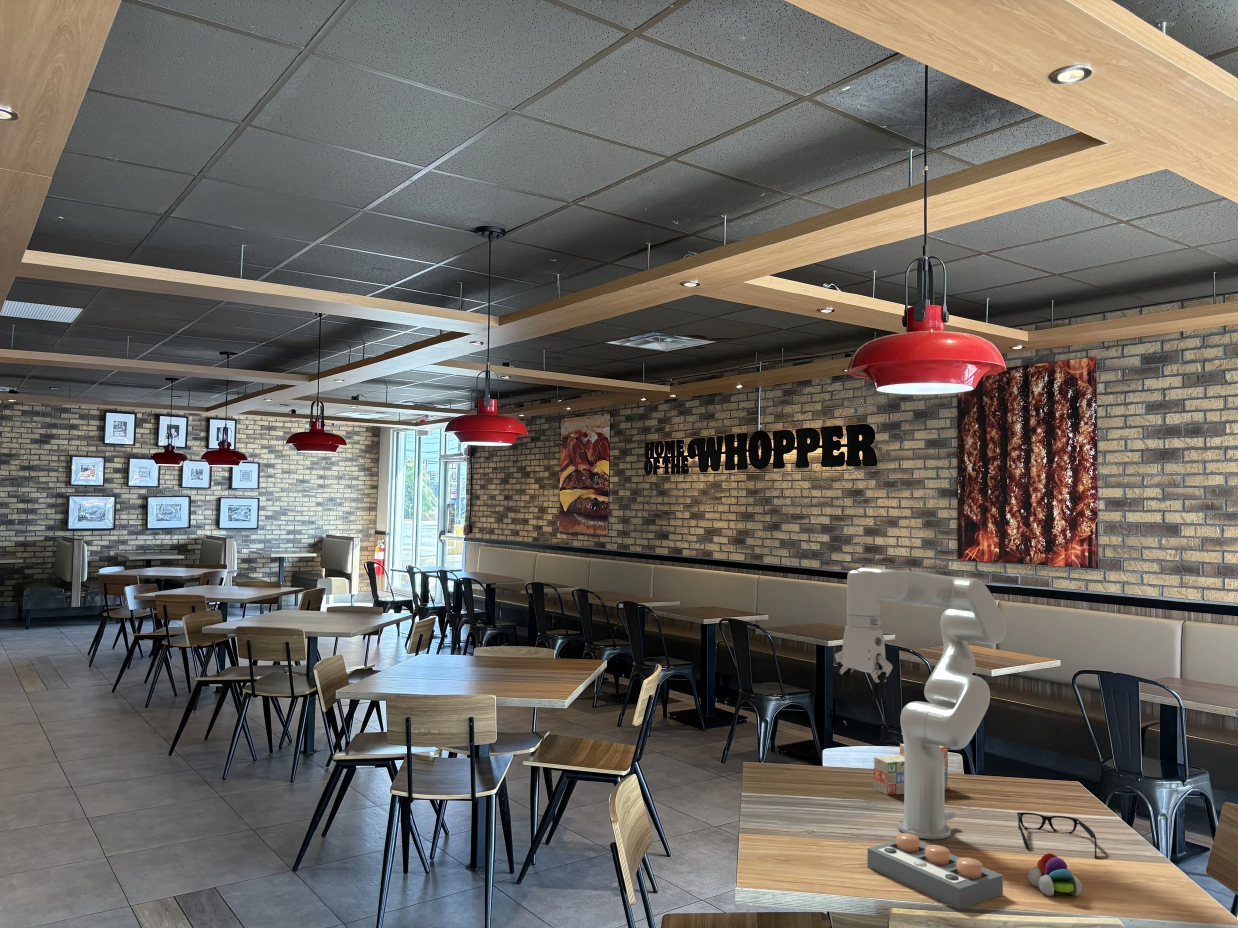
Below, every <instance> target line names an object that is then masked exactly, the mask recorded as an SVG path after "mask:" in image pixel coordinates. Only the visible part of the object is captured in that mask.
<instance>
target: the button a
mask: <svg viewBox="0 0 1238 928" xmlns="http://www.w3.org/2000/svg"><path fill="white" fill-rule="evenodd" d="M896 841H897V849H899V850H901V851H903V852H906V853H908V854H911V853H915V852H919V841H920V838H919V837H917V836H916V835H913V834H908V833H903V832H901V833H898V834H896Z"/></svg>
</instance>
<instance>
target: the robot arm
mask: <svg viewBox="0 0 1238 928" xmlns="http://www.w3.org/2000/svg"><path fill="white" fill-rule="evenodd" d="M846 578H847V579H846V583H847V584H846V586H847V587H846V626H845V629H844V633H843V639H842V650H841V651H839V652H836V653H835V654H834V658H835V661H836V667H837V668H838V670H839V674H840V675H841V692H842V693H843V692H844V693H846V692H847V693H849V692H853V691H854V674H853V673H852V672H853V671H854V670H855V671H859V672H864V673H869V674H870V675H871V677H872V679H873V681H872V683H871V699H872V700H874V701H875V700H884V697H885V695H884V693H885V691H884V690H885V683H886V682H887V680H888V678H889V677H890V675H891V674H890V673H891V672H892V670H893V664H892V663H890V662H889V661H888V660H887V659H886V645H885V638H884V633H883V630H882V629H880V626H881V625H882V620H881V619H880V614H881V613H880V608H881V604H880V602H881V601H882V600H883V601H889V602H895V603H900V604H902V605H903V604H905V605H908V606H917V607H927V608H936V609H937V608H938V609H945V610H944V612H943V613H942V614H941V617H940V621H939V622H940V623H939V624H940V632H941V636H942V645H943V650H942V651H943V652H942V654H941V657H940V659H938V662H937V663H936V665H935V667H934V669H933V671H932V672H931V674H930V676H929V677H928V679H927V681H926V683H925V685H924V688H923V689H924V691H923V694H924V697H925V699H926V701H927V702H926V701H921V700H920V701H919V700H918V701H911V702H908V703H907V704H906V705H904V706H903V708H902V709H901V713H900V719H899V721H900V727H901V729H900V730H901V734H902V738H903V739H902V740H903V744H904V755H905V765H904V794H903V800H904V801H903V803H904V805H903V810H904V812H903V818H902V819H900V820H898V821H897V828H898V830H900V831H901V833H908V834H913V835H916V836H917V837H919V839H925V840H944V839H947V838H949V837H950V836H951V835H952V829H951V827H950V826H949V825H947V822H948V821H949V820H953V819H954V820H955V818H956V813H955V812H954V811H953V810H948V811H945V789H944V770H945V764H944V757H943V754H942V751H941V749H940V747H939V746H942V747H946V748H948V749H951V750H961V749H964V748H965V747H967V745H968V744H969V743H970V741H972V739H973V738H974V735H975V733H976V732H977V729H978V728H979V726H980V724H981V722H982V720H983V718H984V716H985V715H986V712H987V710H988V708H989V706H990V701H991V690H990V687H989V685H988V683H987V681H986V680H985V679H983V678H982V677H980V676H977V675H973V674H974V671H975V669H976V660H975V659H976V658H975V655H974V654H973V652H972V650H971V647H970V645H969V642H970V643H977V644H985V645H998V644H1000V643H1001V642H1002V641H1004V639H1005V636H1006V633H1007V623H1006V619H1005V617H1004V615H1003V613H1002V611H1001V609H1000V607H999V605H998V603H997V602H996V599H994V596H993V594H992V593H991V591H990V590H989V588H988V587H987V586H986V584H984V583H983V581H981V580H980V579H978V578H970V577H961V576H959V577H958V576H950V575H941V574H936V573H930V572H929V573H928V572H921V571H907V570H906V571H901V570H897V569H890V568H889V569H887V568H876V567H860V568H858V569H853V570H850V571H848V573H847V577H846Z"/></svg>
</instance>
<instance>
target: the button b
mask: <svg viewBox="0 0 1238 928" xmlns="http://www.w3.org/2000/svg"><path fill="white" fill-rule="evenodd" d="M927 845H928V846H926V861H927V862H929V863H932V864H934V865H936V866H939V867H941V866H945V865H948V864H949V853H950V849H948V847H946V846H944V845H942V846H941V845H938V844H927Z"/></svg>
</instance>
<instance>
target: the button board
mask: <svg viewBox="0 0 1238 928" xmlns="http://www.w3.org/2000/svg"><path fill="white" fill-rule="evenodd" d="M928 845H929V844H928V843H925V842H922V841H920V840H919V852H915V853H911V854H908V853H906V852H903V851H901V850H899V849H897V840H895V841H890V842H887V843H883V844H880V845H879V844H878V845H873V846H870V847H868V848H867V855H866V856H867V862H866V863H867V864H866V866H867V868H870V869H872V870H874V871H876V872H877V873H878V872H879V873H880V874H883V875H885V876H887V877H889V878H891V879H893V880H895V881H898V882H900V883H902V884H904V885H905V886H909V887H910V888H912V889H914V890H917V891H919V892H922V893H924V894H926V895H927V896H930V897H932V898H934V899H936V900H939V901H941V902H943V903H945V904H947V905H949V906H951V907H953V908H956V909H958V910H961V909H965V908H967V907H970V906H973V905H976V904H980V903H984V902H985V901H988V900H989V901H990V900H991V899H996V898H997V897H1000V896H1003V895H1004V881H1003V880H1004V878H1003V877H1004V876H1003V874H1001V873H998V872H996V871H993V870H991V869H988V868H986V867H985V866H984V867H983V866H982V878H980V879H977V880H974V881H971V880H969V879H967V878H964V877H962V876H960V875H957V859H958V858H960V857H959V856H957V855H954V854H952V853H950V852H949V864H948V865H945V866H941V867H939V866H936V865H934V864H932V863H929V862H927V861H926V846H928Z"/></svg>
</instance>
